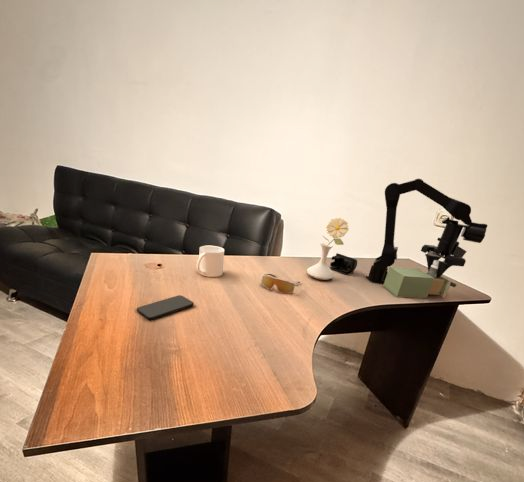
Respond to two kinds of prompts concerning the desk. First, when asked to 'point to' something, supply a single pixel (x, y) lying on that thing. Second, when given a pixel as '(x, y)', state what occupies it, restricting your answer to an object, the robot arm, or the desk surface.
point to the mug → (210, 261)
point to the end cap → (343, 264)
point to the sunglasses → (278, 284)
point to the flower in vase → (335, 230)
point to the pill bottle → (434, 269)
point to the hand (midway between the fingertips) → (433, 275)
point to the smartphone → (164, 307)
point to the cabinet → (408, 282)
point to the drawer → (441, 286)
